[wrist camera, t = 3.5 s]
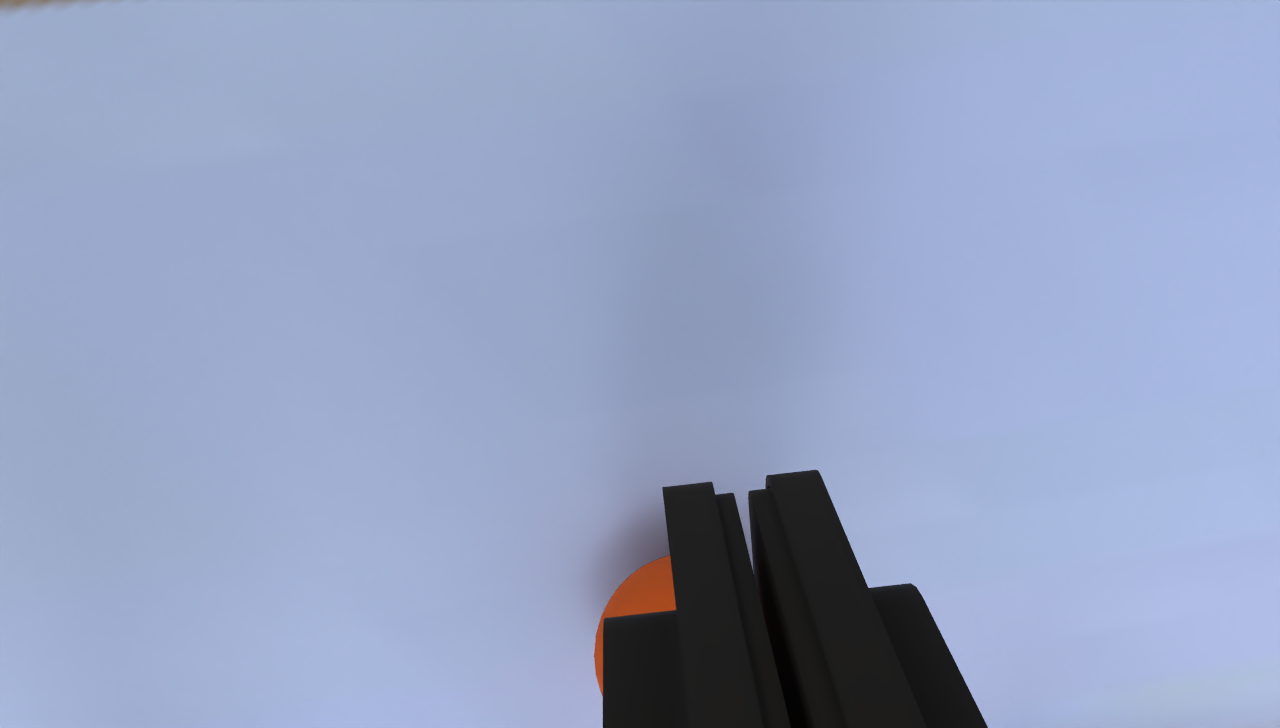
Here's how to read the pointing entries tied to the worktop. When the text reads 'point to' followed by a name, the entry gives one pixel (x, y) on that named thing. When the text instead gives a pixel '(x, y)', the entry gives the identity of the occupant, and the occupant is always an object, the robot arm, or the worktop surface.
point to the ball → (638, 600)
